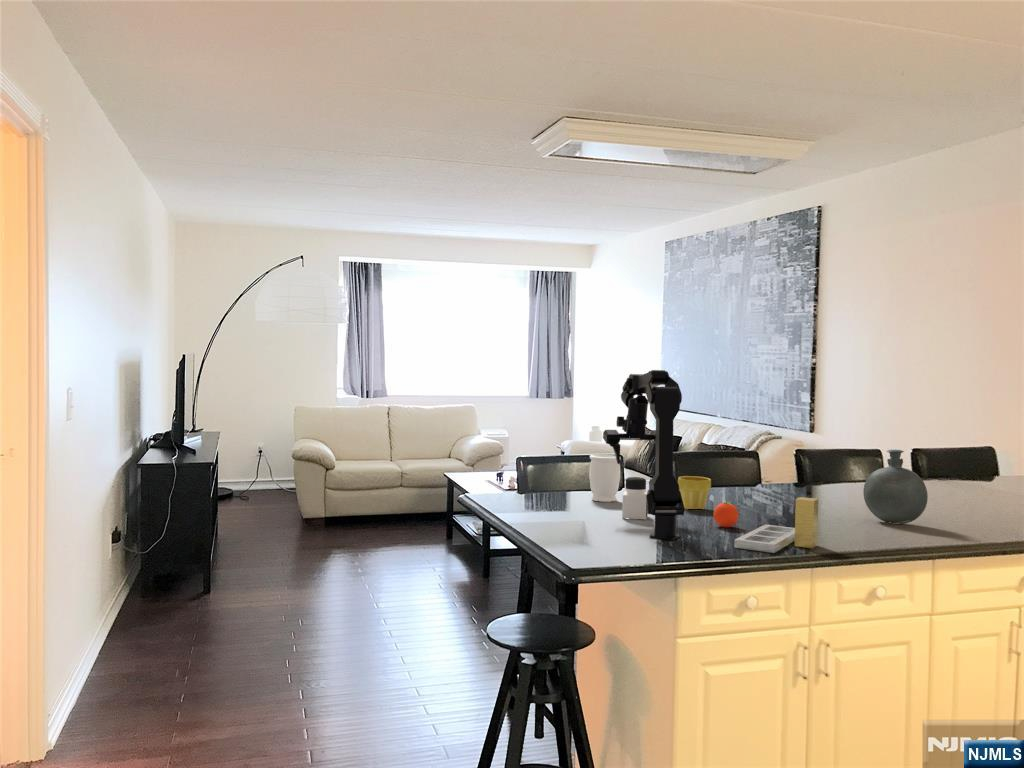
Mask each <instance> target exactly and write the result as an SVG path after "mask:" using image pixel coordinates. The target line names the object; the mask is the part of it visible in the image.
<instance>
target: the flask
mask: <svg viewBox="0 0 1024 768" xmlns="http://www.w3.org/2000/svg"><path fill="white" fill-rule="evenodd" d="M886 453H889V457H890V458H887V464H888V466H886V467H882V468H877V470H875V471H872V472H871V473H870V474H869V476H868V477H867V478H866V480H865V482H864V485H863V499H864V503H865V504H866V507H867V508H868V510H869V511H870V512H871V513H872V514H873V515H874V516H875V517H876V518H877V519H879V520H881V521H883V522H884V521H885V523H887V522H891V523H900V524H899V525H903V524H905V525H906V524H909V523H911V522H913V521H916V520H917V519H918V518H920V517H921V516H922V514H923V513H924V511H925V510H926V507H927V505H928V499H929V498H928V497H929V495H928V489H927V487H926V483H925V482H924V481H923V479H922V477H920V476H919V475H918V474H917V473H916V472H914V471H913V470H911V469H908V468H904V467H903V464H904V459H903V458H901V456H902V454H903V453H905V451H903V450H901V449H888V450H886ZM891 523H890V524H891Z"/></svg>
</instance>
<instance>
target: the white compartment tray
mask: <svg viewBox="0 0 1024 768" xmlns="http://www.w3.org/2000/svg"><path fill="white" fill-rule="evenodd" d="M793 542H795V527H790V526H789V527H787V526H783V525H782V526H781V525H774V524H764V525H761V526H759V527H757V528H755V529H754V530H751V531H749V532H747V533H745V534H742V535H741V536H739V537H737V538H735V539H734V543H733V545H734V547H733V548H735V549H742V550H750V551H757V552H765V553H772V554H775V553H777V552H779V551H781V550H782V549H784V548H785V547H787V546H788V545H791V543H793Z"/></svg>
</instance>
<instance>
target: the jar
mask: <svg viewBox="0 0 1024 768" xmlns="http://www.w3.org/2000/svg"><path fill="white" fill-rule="evenodd" d="M589 459H590V460H591V461H590V464H589V470H588V476H589V477H588V478H589V484H590V485H589V486H590V490H591V493H592V494H593V495H592V497H591V501H595V502H598V501H599V502H600V503H612V502H611V501H614V502H616V501H617V500H618V498H617V497H616V495H617V494H618V491H619V485H620V480H621V465H620V463H619V464H617V461H616V457H615V454H605V453H604V454H600V453H599V454H590V455H589ZM620 460H621V456H620Z"/></svg>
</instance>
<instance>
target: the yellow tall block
mask: <svg viewBox="0 0 1024 768" xmlns="http://www.w3.org/2000/svg"><path fill="white" fill-rule="evenodd" d="M794 511H795V512H794V513H795V516H794V522H795V523H794V528H795V541H794V547H800V548H808V549H814V548H815V547H818V531H819V530H818V523H819V498H814V497H805V496H803V497H801V496H799V497H797V498H795V510H794Z"/></svg>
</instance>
